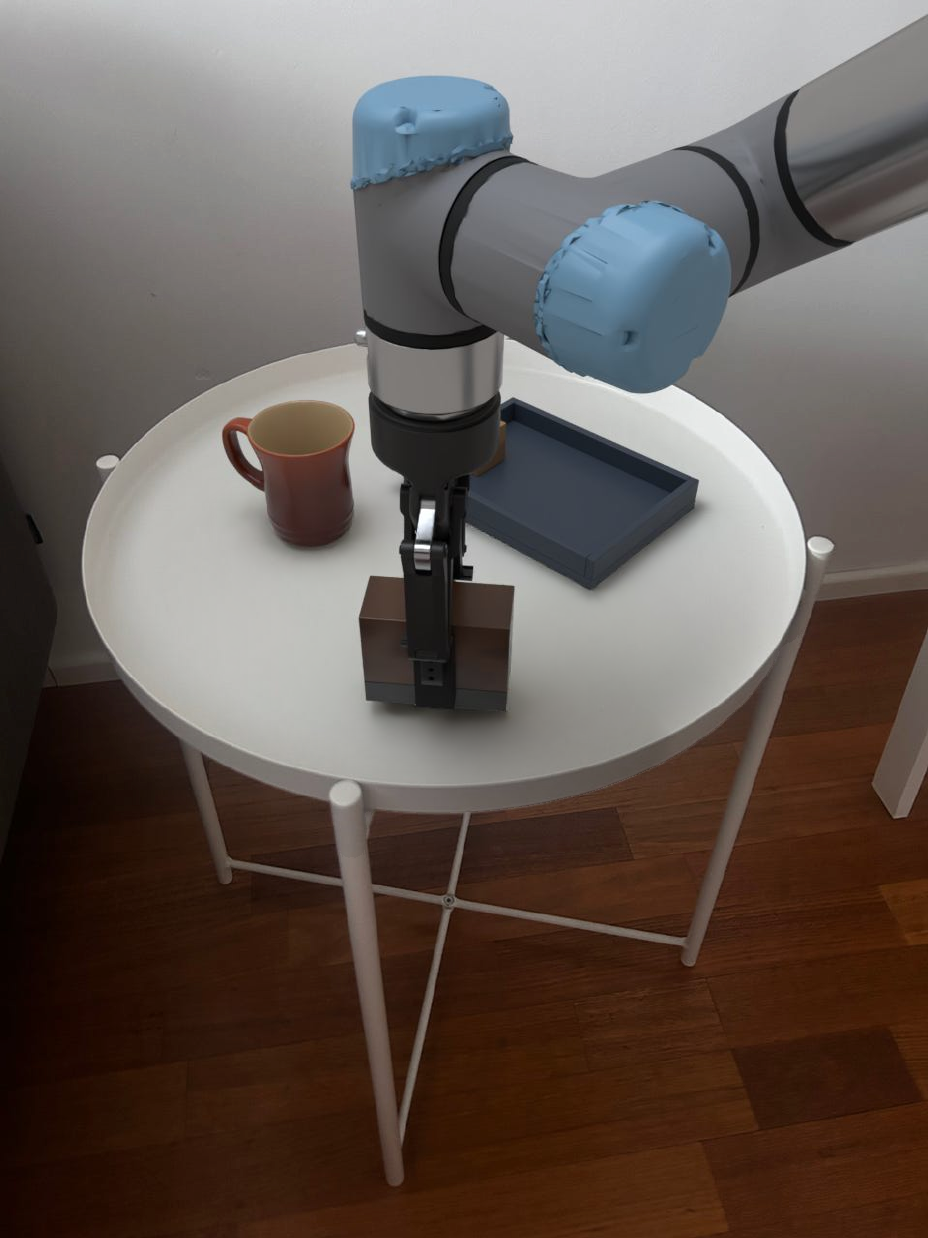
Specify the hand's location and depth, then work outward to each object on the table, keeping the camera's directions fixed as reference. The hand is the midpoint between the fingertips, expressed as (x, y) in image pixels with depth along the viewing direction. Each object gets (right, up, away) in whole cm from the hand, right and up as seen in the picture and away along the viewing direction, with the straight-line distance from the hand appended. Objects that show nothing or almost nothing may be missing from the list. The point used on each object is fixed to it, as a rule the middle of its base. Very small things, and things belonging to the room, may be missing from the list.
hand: (439, 678), depth 72 cm
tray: (+9, +15, +20) cm, 27 cm away
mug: (-13, +13, +17) cm, 25 cm away
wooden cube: (+3, +19, +23) cm, 30 cm away
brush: (0, 0, 0) cm, 1 cm away
